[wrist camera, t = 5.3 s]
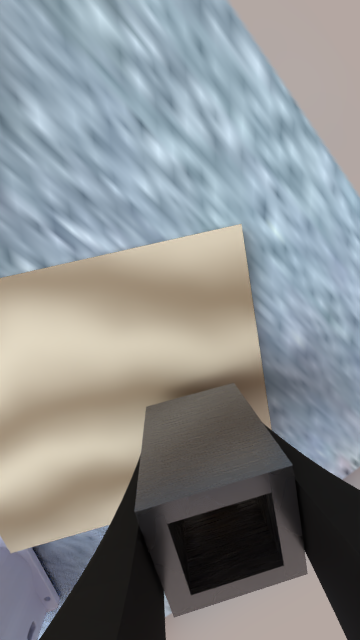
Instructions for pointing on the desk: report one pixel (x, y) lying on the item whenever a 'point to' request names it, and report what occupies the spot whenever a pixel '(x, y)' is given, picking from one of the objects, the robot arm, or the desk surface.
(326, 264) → the desk surface
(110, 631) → the robot arm
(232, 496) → the grey hollow cube
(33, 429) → the board
